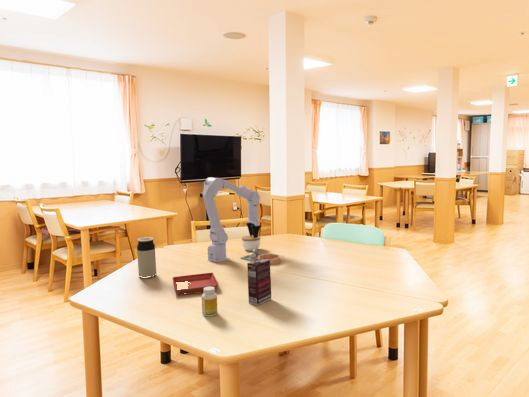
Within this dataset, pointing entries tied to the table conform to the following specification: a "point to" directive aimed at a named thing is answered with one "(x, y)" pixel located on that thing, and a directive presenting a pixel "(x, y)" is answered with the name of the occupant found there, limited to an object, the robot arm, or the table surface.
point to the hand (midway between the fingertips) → (253, 236)
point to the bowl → (270, 258)
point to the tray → (249, 258)
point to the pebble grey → (252, 255)
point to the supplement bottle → (209, 301)
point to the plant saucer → (195, 282)
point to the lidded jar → (251, 242)
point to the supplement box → (259, 281)
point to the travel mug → (146, 256)
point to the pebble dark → (256, 252)
